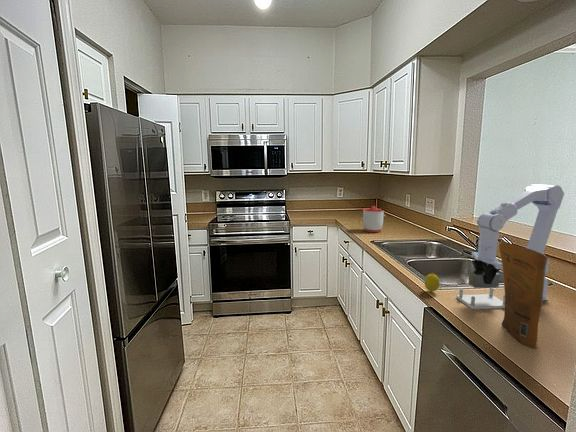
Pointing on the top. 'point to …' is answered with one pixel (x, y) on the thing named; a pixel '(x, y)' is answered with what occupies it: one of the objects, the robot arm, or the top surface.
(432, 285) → the lemon
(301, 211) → the top surface
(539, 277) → the pancake mix bag
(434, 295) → the top surface
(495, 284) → the block
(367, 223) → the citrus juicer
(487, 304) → the tray
